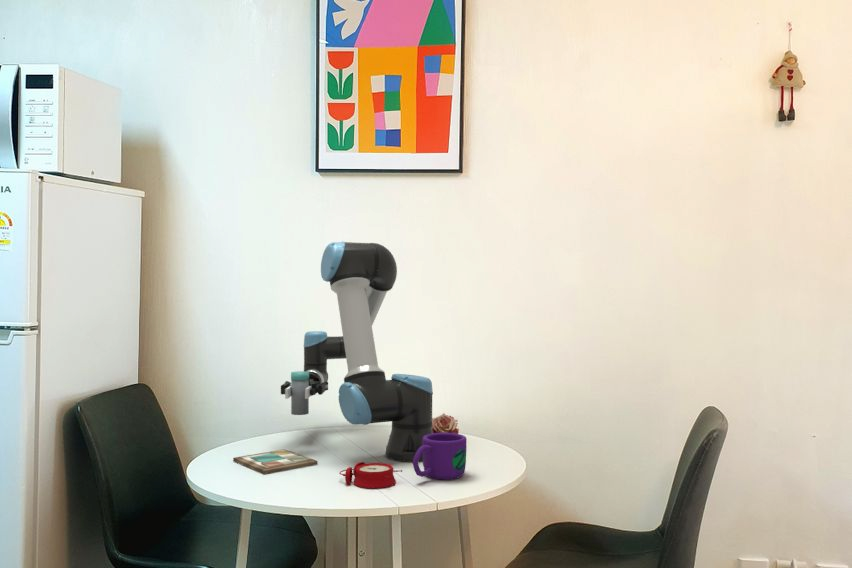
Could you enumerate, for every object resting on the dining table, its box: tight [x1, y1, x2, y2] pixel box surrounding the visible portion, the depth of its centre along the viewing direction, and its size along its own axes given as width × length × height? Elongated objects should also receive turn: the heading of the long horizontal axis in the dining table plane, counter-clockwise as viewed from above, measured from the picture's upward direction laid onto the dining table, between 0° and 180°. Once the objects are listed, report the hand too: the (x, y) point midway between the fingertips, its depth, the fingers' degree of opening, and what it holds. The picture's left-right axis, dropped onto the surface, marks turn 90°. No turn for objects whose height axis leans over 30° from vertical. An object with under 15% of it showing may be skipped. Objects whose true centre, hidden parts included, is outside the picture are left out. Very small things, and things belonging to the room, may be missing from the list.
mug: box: [412, 433, 467, 481], centre depth 180 cm, size 17×11×10 cm, turn 138°
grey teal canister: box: [290, 370, 310, 416], centre depth 206 cm, size 5×5×12 cm
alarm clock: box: [338, 461, 403, 489], centre depth 175 cm, size 10×6×15 cm
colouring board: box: [232, 449, 318, 476], centre depth 194 cm, size 18×16×1 cm
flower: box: [432, 413, 460, 434], centre depth 223 cm, size 10×9×8 cm
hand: (296, 393), depth 201 cm, fingers closed on grey teal canister, 5 cm apart
